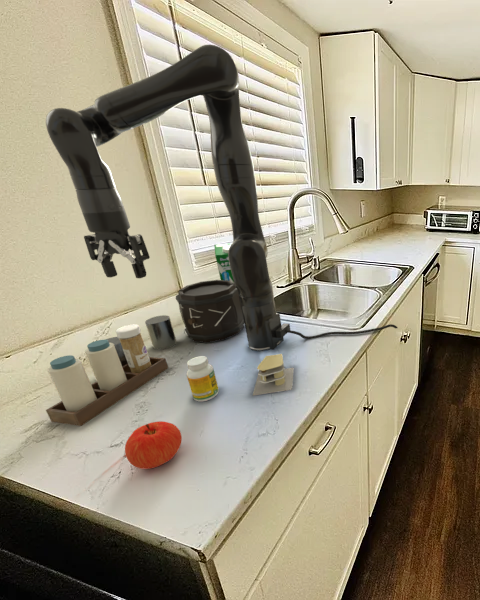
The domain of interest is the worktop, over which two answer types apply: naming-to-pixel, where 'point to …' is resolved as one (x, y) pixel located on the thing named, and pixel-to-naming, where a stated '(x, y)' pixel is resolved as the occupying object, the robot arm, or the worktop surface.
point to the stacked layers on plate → (273, 376)
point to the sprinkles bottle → (134, 348)
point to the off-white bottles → (75, 380)
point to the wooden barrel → (210, 310)
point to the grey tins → (151, 336)
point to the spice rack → (107, 395)
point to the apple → (153, 444)
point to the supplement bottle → (202, 379)
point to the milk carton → (223, 261)
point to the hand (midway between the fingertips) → (126, 277)
